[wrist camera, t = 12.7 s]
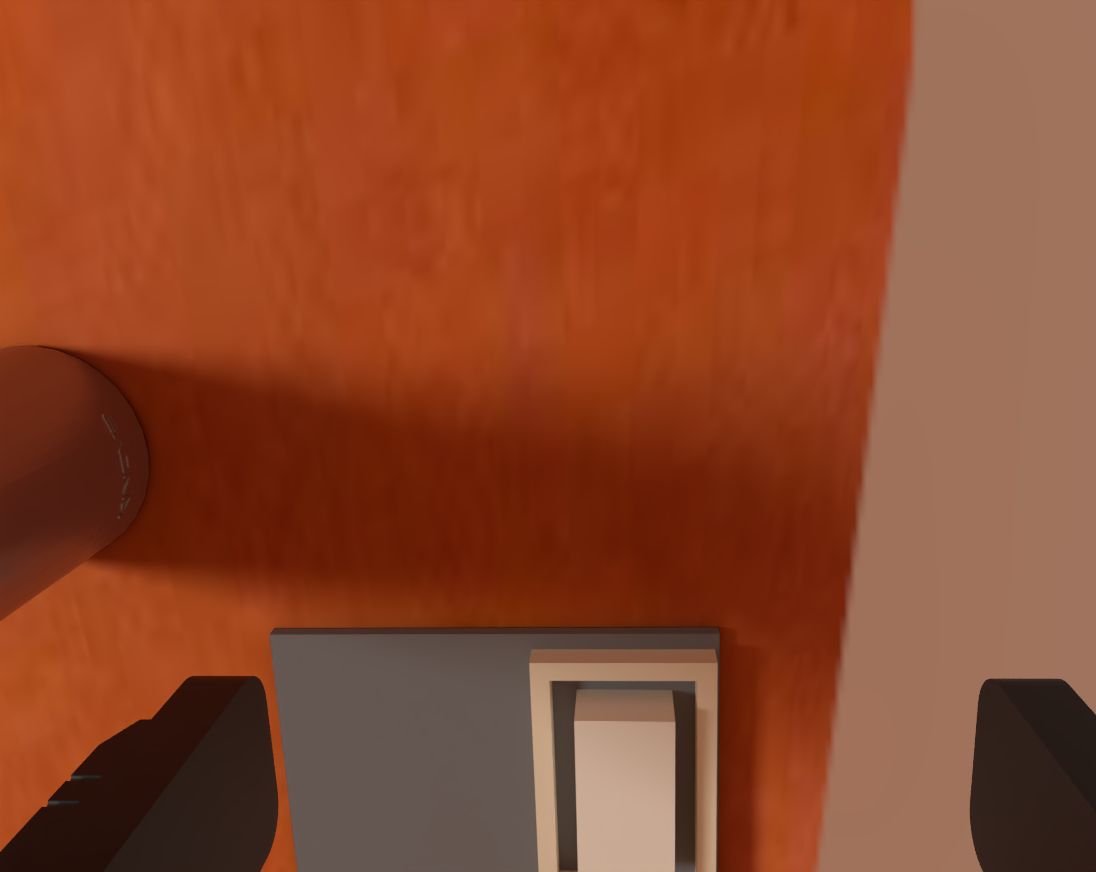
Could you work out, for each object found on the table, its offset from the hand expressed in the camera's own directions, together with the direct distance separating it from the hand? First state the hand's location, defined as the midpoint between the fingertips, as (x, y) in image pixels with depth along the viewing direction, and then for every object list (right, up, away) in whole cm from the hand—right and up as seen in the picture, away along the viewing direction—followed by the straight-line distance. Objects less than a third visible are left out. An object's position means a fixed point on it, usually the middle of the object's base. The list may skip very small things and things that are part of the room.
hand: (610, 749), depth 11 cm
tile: (+3, -11, +31) cm, 33 cm away
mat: (-3, -13, +33) cm, 35 cm away
